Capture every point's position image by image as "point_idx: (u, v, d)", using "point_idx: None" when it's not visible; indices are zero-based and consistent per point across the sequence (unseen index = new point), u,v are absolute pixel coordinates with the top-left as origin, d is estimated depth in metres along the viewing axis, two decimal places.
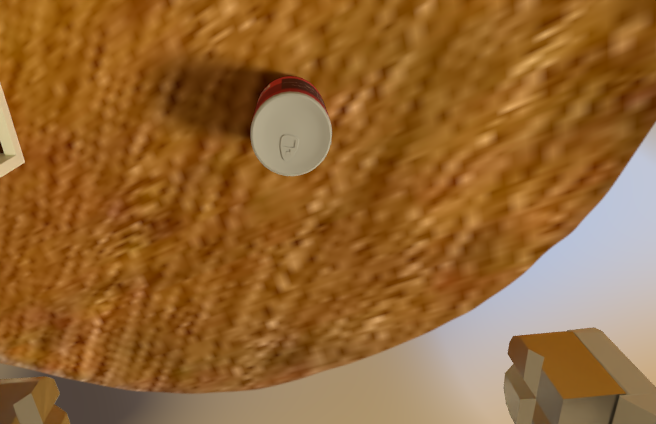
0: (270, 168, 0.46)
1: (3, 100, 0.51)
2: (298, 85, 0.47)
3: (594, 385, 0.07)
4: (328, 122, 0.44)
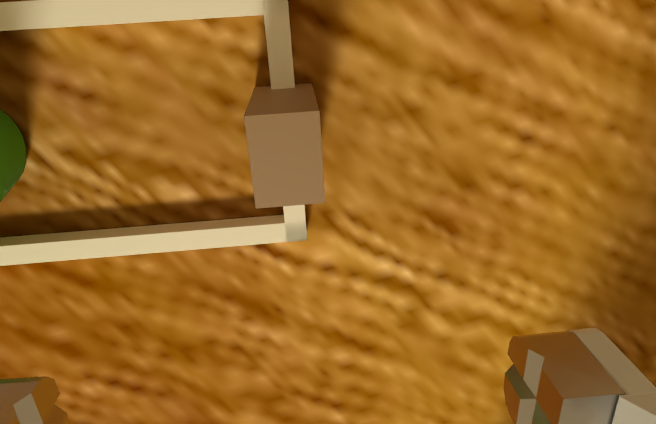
0: None
1: None
2: None
3: (594, 385, 0.07)
4: None
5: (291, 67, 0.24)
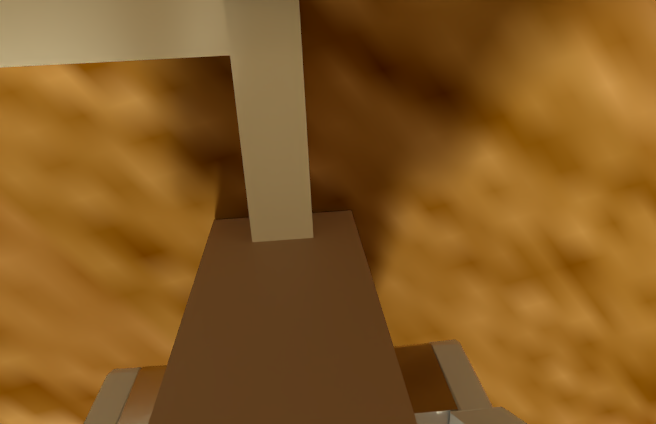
0: None
1: None
2: None
3: (430, 401, 0.07)
4: None
5: (305, 190, 0.09)
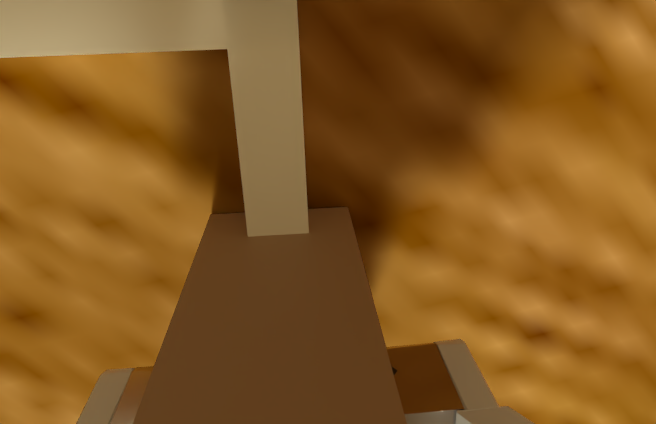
0: None
1: None
2: None
3: (436, 400, 0.07)
4: None
5: (301, 185, 0.09)
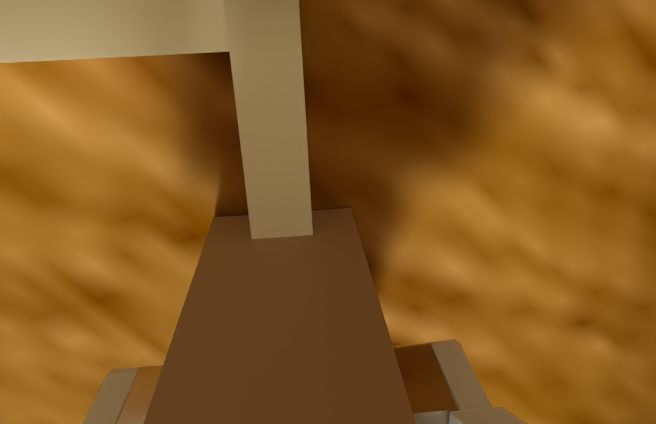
0: None
1: None
2: None
3: (430, 400, 0.07)
4: None
5: (305, 187, 0.09)
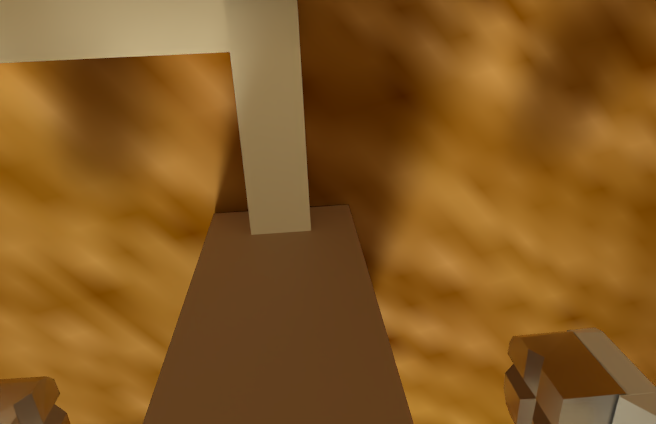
0: None
1: None
2: None
3: (594, 385, 0.07)
4: None
5: (303, 184, 0.09)
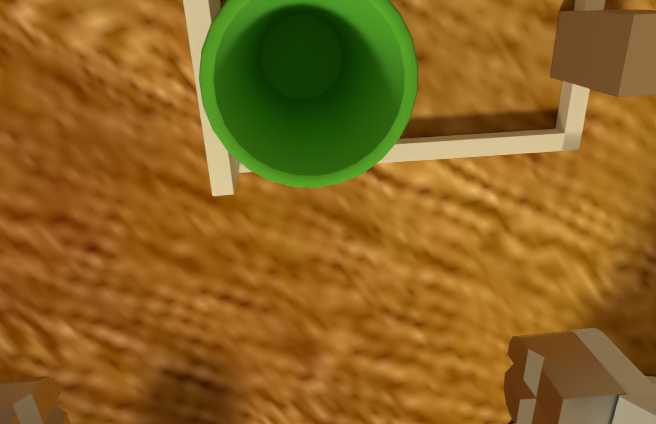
0: None
1: None
2: None
3: (594, 385, 0.07)
4: None
5: None
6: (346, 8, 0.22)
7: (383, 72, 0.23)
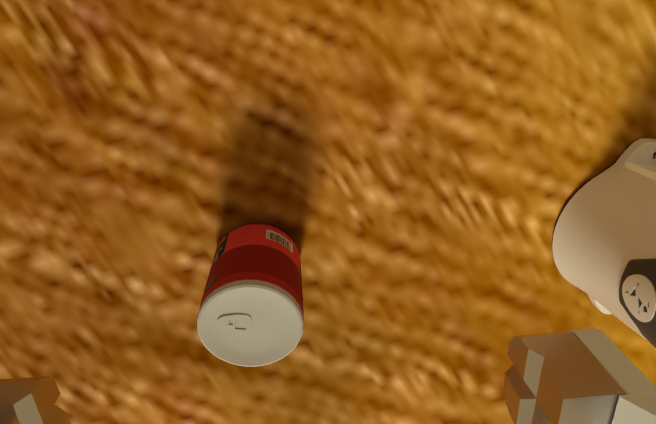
0: (205, 305, 0.35)
1: None
2: None
3: (594, 385, 0.07)
4: (269, 363, 0.38)
5: None
6: None
7: None
